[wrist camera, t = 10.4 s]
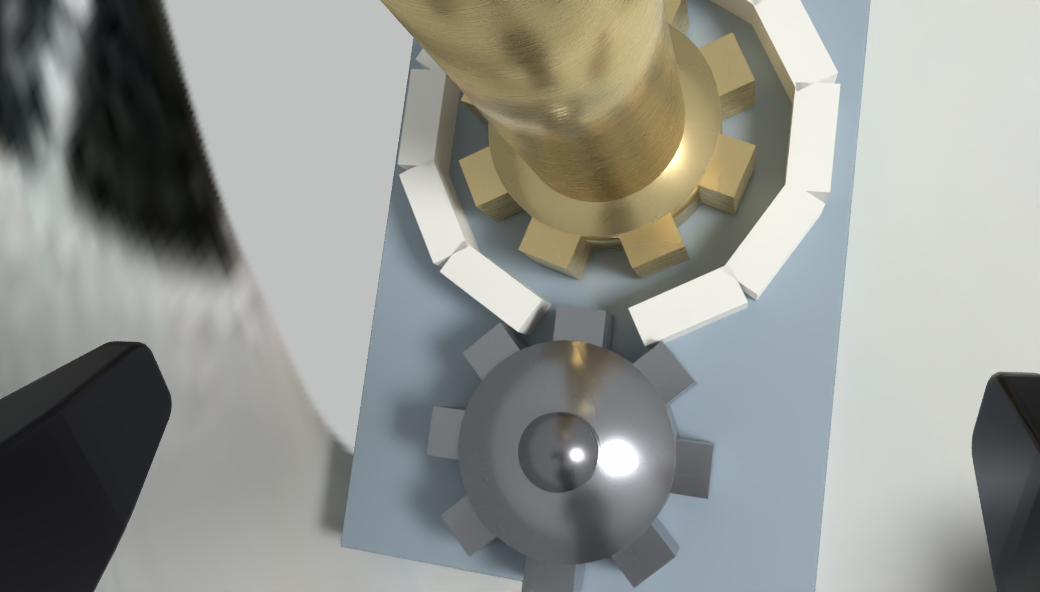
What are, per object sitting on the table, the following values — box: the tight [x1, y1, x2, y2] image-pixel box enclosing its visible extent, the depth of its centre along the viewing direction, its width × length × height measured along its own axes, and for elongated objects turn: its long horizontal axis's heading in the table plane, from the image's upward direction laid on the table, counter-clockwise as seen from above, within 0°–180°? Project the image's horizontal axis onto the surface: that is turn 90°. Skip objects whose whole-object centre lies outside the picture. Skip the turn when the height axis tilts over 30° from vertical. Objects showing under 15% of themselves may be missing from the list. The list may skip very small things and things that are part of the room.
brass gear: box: [381, 0, 756, 280], centre depth 16 cm, size 7×7×13 cm
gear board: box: [341, 0, 870, 592], centre depth 22 cm, size 17×12×2 cm
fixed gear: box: [427, 306, 715, 592], centre depth 21 cm, size 7×7×2 cm
